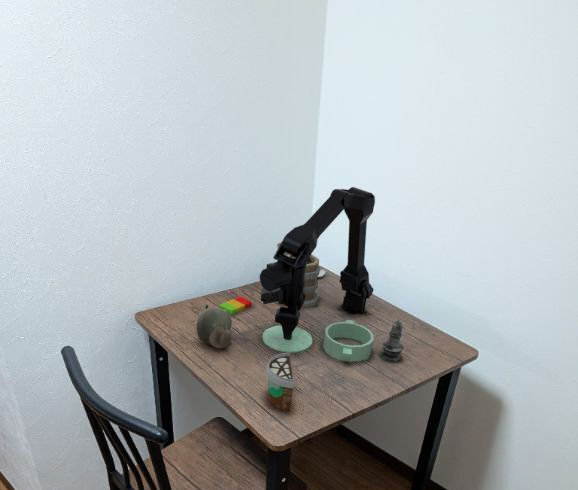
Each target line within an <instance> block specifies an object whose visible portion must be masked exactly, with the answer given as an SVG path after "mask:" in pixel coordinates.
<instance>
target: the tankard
mask: <svg viewBox="0 0 578 490" xmlns="http://www.w3.org/2000/svg"><path fill="white" fill-rule="evenodd" d="M280 244H281V242H278V243H277V244H276V246H277V249H278V248H279V246H280ZM284 255H286V256H288V257H290V258H293V256H291V255H289V254H287V253H284ZM309 258H310V259H311V260H312V262H311V263H309V264H306V273H305V281H304V282H305V286H304V288H305V289H306V297H305V300H304V303H303V305H302V307H301V308H304V307H315V306H316V305H317V302H318V300H319V297H320V294H319V293H317V289H318V288H319V280H318V278H319V277H318V275H319V273H320V270H321V266H320V259H319V258H318V257H317V256H315V255H314V254H313V253H312V254H311V255H310V256H309Z"/></svg>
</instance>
